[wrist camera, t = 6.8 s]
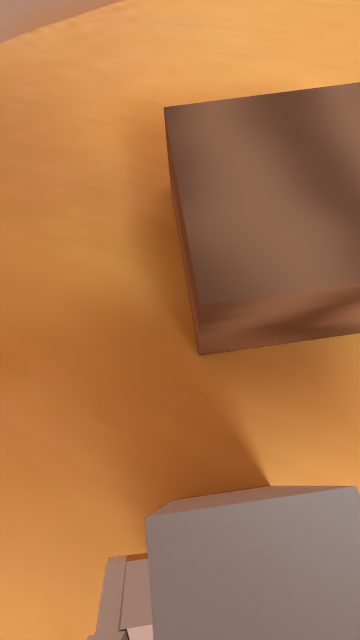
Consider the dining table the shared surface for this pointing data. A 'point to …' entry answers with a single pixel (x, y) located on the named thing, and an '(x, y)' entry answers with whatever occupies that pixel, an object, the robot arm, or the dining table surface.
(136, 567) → the robot arm
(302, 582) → the slate block
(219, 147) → the walnut slab
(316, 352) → the dining table surface
